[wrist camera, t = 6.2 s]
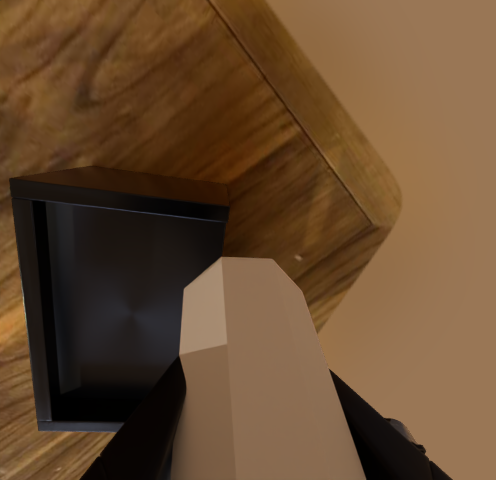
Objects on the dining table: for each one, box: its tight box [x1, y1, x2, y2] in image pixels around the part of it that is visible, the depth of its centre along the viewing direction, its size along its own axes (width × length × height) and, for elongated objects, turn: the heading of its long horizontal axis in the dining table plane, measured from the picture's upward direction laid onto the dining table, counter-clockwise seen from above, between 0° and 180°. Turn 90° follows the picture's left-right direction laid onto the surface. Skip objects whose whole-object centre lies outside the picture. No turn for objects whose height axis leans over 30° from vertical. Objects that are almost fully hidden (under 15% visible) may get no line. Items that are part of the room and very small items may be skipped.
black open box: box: [9, 166, 230, 432], centre depth 17 cm, size 9×14×8 cm, turn 172°
